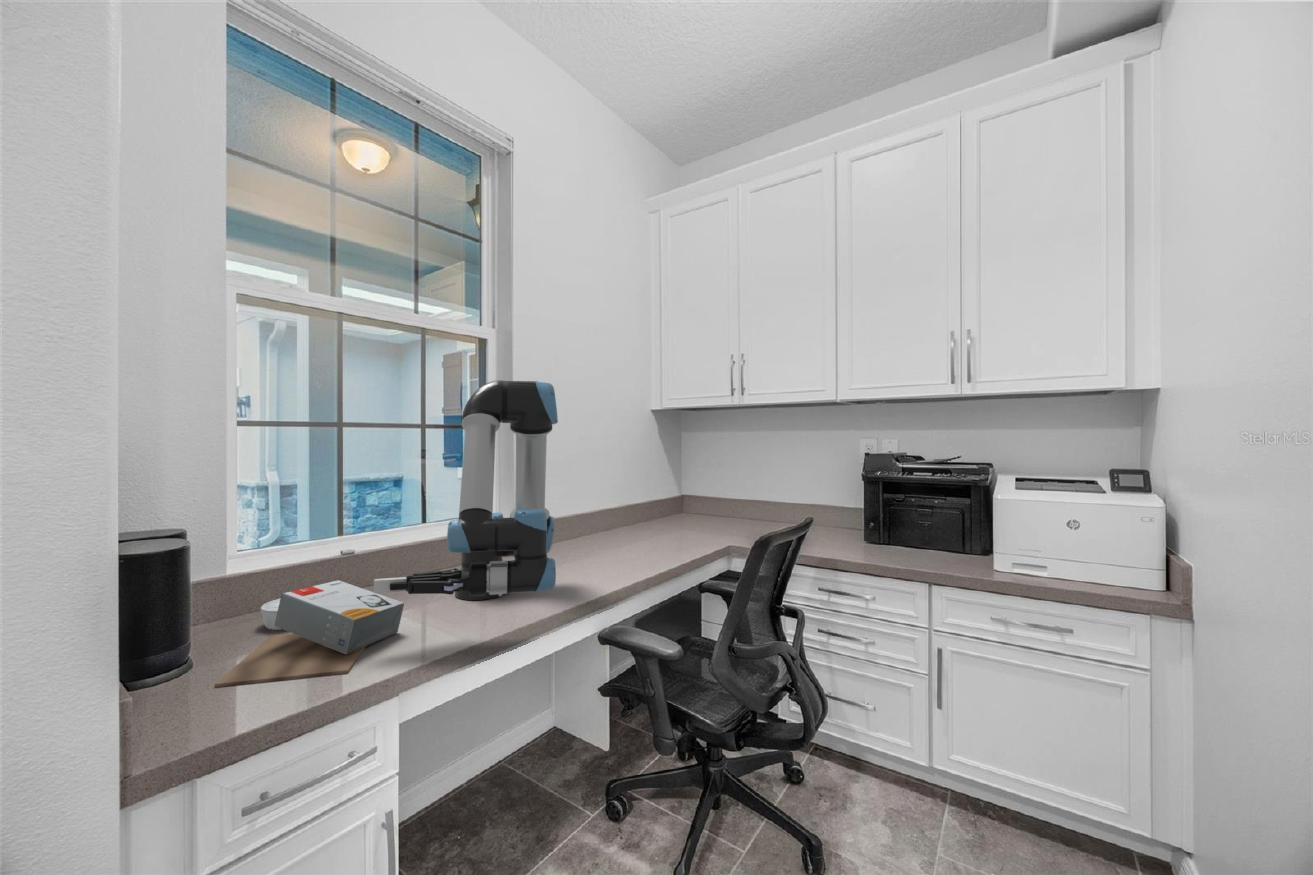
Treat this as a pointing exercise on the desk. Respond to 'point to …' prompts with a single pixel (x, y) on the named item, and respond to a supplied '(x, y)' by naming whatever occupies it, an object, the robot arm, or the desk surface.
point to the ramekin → (270, 614)
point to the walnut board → (289, 661)
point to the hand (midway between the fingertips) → (374, 586)
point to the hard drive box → (339, 615)
